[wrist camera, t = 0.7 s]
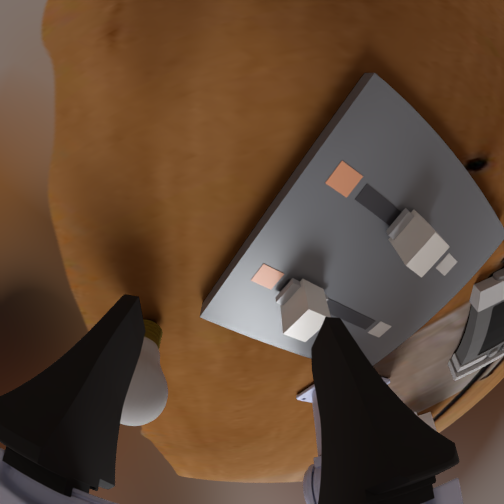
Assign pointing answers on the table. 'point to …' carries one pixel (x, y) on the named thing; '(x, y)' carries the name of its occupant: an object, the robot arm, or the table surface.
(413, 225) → the breaker
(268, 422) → the table surface
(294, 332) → the breaker on
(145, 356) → the light bulb
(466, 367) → the alarm clock
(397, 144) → the panel
